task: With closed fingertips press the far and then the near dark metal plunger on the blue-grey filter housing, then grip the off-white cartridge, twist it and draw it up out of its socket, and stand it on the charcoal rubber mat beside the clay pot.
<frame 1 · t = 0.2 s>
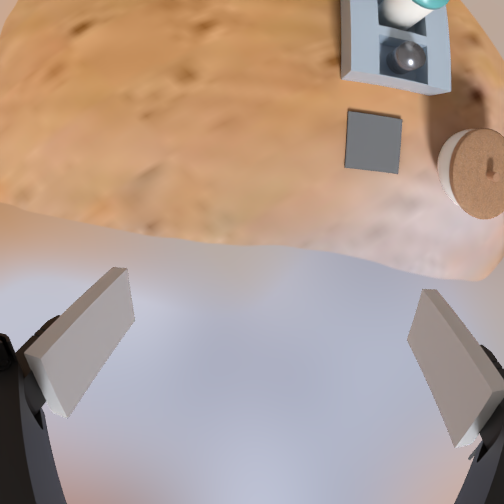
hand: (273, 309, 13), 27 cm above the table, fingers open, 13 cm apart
filter housing: (386, 23, 29), on the table
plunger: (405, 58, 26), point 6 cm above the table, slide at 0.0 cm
lidded jar: (457, 165, 35), on the table
cartridge: (392, 18, 27), point 2 cm above the table, touching filter housing
mat: (373, 142, 35), on the table
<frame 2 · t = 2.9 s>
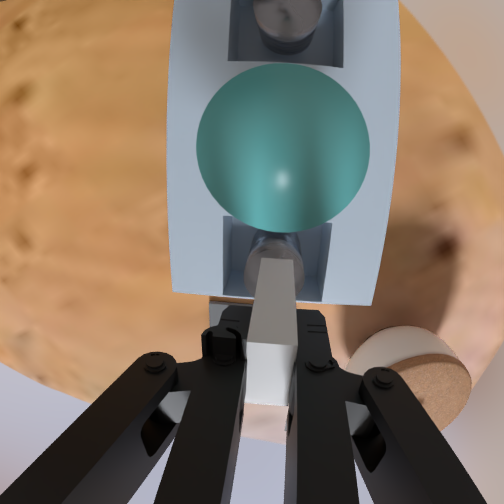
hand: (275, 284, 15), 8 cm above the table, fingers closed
filter housing: (282, 138, 21), on the table
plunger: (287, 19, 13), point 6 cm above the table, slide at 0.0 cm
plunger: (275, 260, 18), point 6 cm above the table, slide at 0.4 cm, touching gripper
lidded jar: (388, 352, 27), on the table
cartridge: (282, 138, 18), point 2 cm above the table, touching filter housing
mat: (251, 338, 27), on the table
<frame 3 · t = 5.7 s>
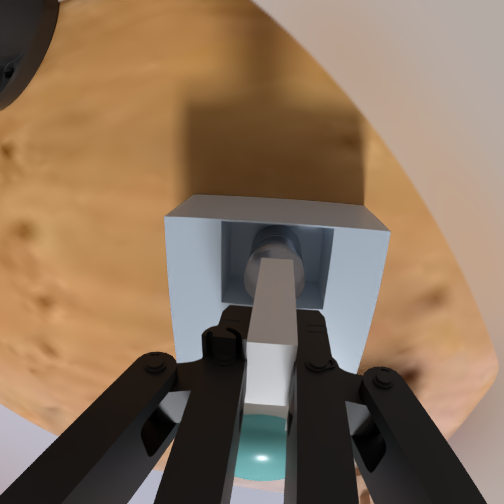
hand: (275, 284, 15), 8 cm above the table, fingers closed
filter housing: (271, 311, 25), on the table
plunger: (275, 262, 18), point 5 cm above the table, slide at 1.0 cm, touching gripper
lidded jar: (356, 439, 31), on the table
cartridge: (269, 329, 23), point 2 cm above the table, touching filter housing
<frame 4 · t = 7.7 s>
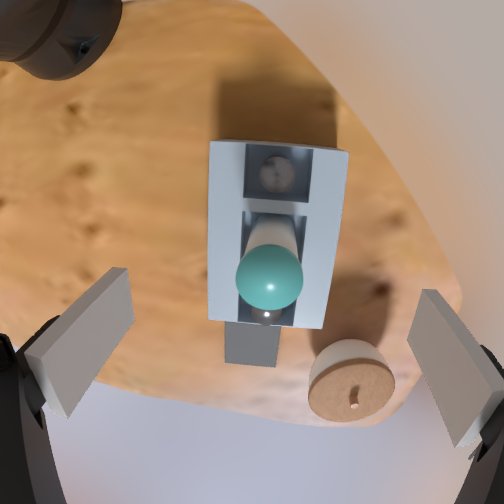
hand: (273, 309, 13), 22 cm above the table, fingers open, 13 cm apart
filter housing: (273, 224, 35), on the table
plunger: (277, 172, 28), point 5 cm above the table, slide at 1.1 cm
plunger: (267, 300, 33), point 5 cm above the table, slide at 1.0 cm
lidded jar: (343, 355, 41), on the table
cartridge: (273, 231, 33), point 2 cm above the table, touching filter housing
mat: (251, 344, 41), on the table
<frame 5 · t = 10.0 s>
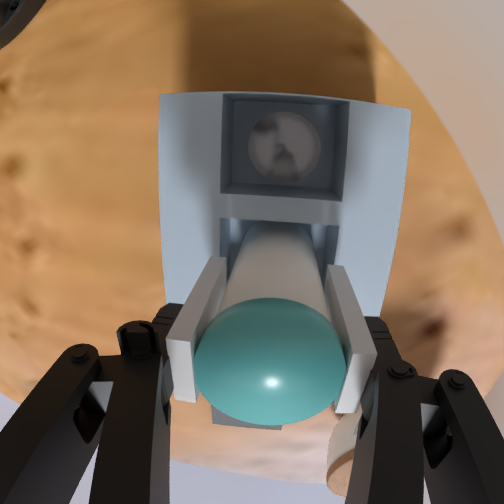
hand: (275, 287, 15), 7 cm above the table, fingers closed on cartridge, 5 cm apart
filter housing: (277, 238, 22), on the table
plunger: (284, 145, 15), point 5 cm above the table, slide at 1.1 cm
lidded jar: (373, 411, 28), on the table
cartridge: (277, 251, 20), point 3 cm above the table, touching filter housing, gripper
mat: (248, 403, 28), on the table
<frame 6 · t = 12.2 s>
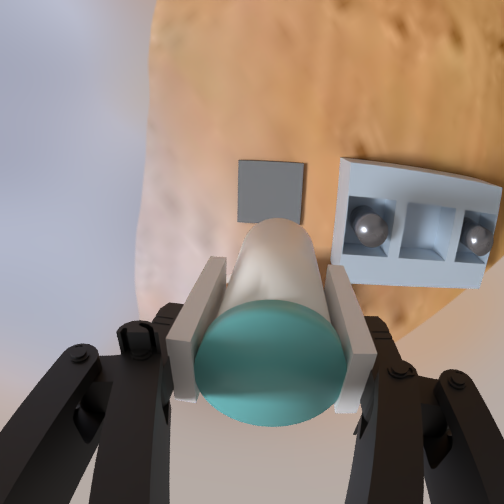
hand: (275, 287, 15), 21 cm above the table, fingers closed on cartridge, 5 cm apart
filter housing: (408, 217, 34), on the table
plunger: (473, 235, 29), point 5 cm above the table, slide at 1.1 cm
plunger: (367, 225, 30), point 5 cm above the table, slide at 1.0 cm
cartridge: (277, 252, 20), point 17 cm above the table, touching gripper
mat: (269, 192, 35), on the table
when the fingers open (7 cm above the table, at t = 14.8 s): cartridge drops 2 cm, resting on mat.
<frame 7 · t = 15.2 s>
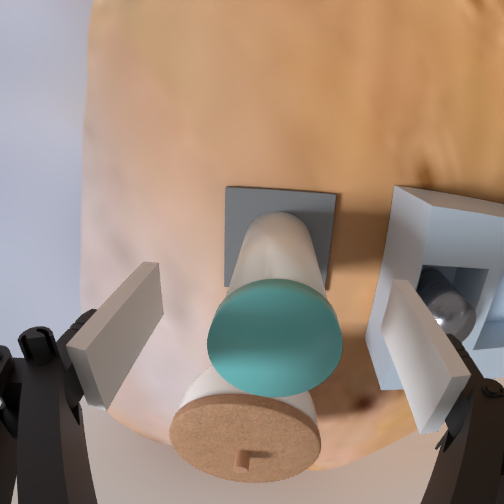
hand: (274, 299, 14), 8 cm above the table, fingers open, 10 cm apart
filter housing: (477, 274, 21), on the table
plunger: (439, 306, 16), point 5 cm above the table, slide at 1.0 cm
lidded jar: (253, 378, 26), on the table
cartridge: (277, 244, 21), resting on mat
mat: (277, 241, 21), on the table
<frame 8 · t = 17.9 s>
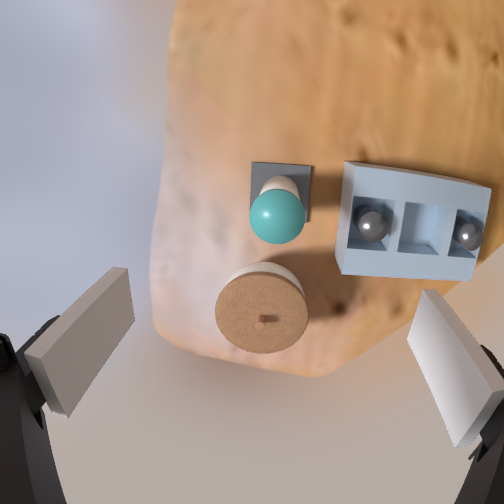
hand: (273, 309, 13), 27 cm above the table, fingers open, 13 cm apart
filter housing: (405, 215, 37), on the table
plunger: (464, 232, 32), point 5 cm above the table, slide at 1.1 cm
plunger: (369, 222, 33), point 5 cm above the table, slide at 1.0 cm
lidded jar: (265, 286, 43), on the table
cartridge: (280, 193, 38), resting on mat
mat: (279, 192, 38), on the table
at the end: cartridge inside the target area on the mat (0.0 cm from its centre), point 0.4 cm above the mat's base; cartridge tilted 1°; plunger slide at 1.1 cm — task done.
